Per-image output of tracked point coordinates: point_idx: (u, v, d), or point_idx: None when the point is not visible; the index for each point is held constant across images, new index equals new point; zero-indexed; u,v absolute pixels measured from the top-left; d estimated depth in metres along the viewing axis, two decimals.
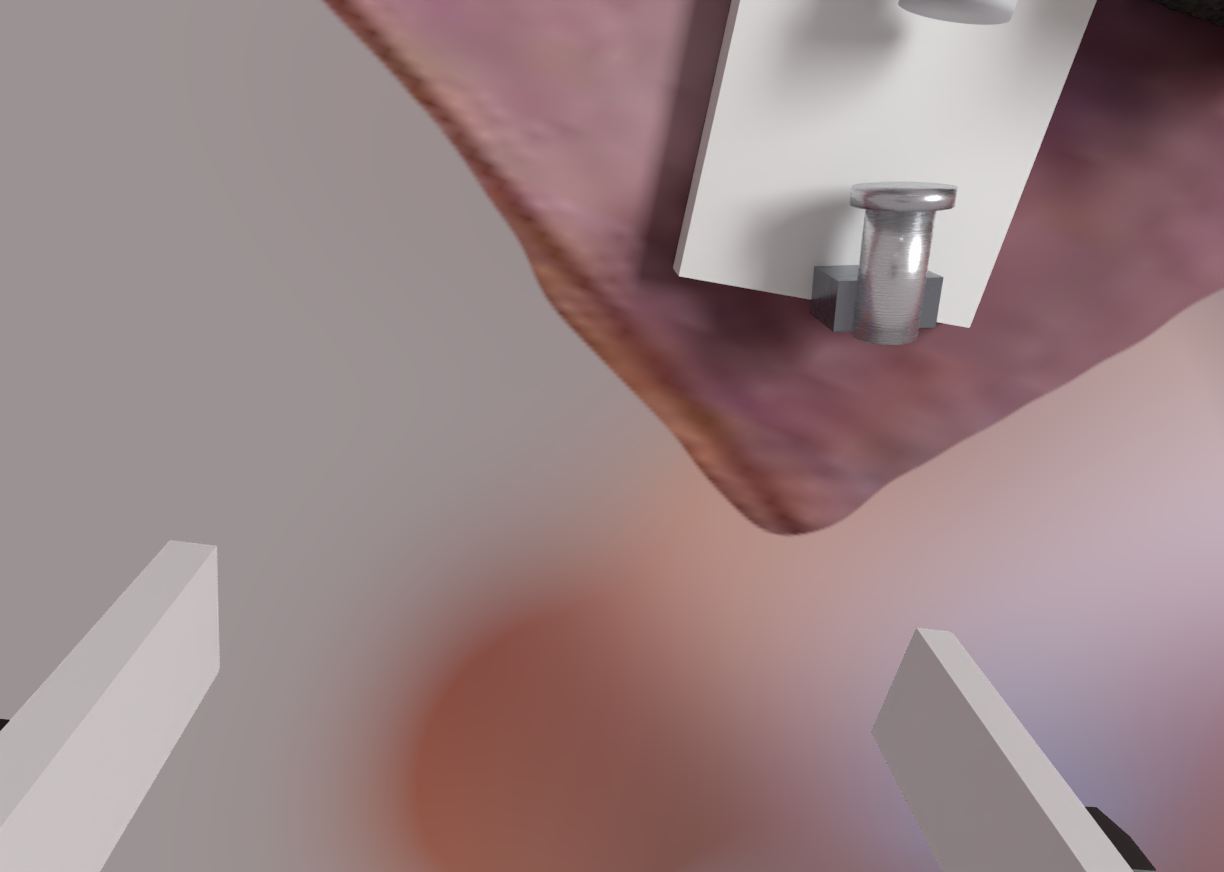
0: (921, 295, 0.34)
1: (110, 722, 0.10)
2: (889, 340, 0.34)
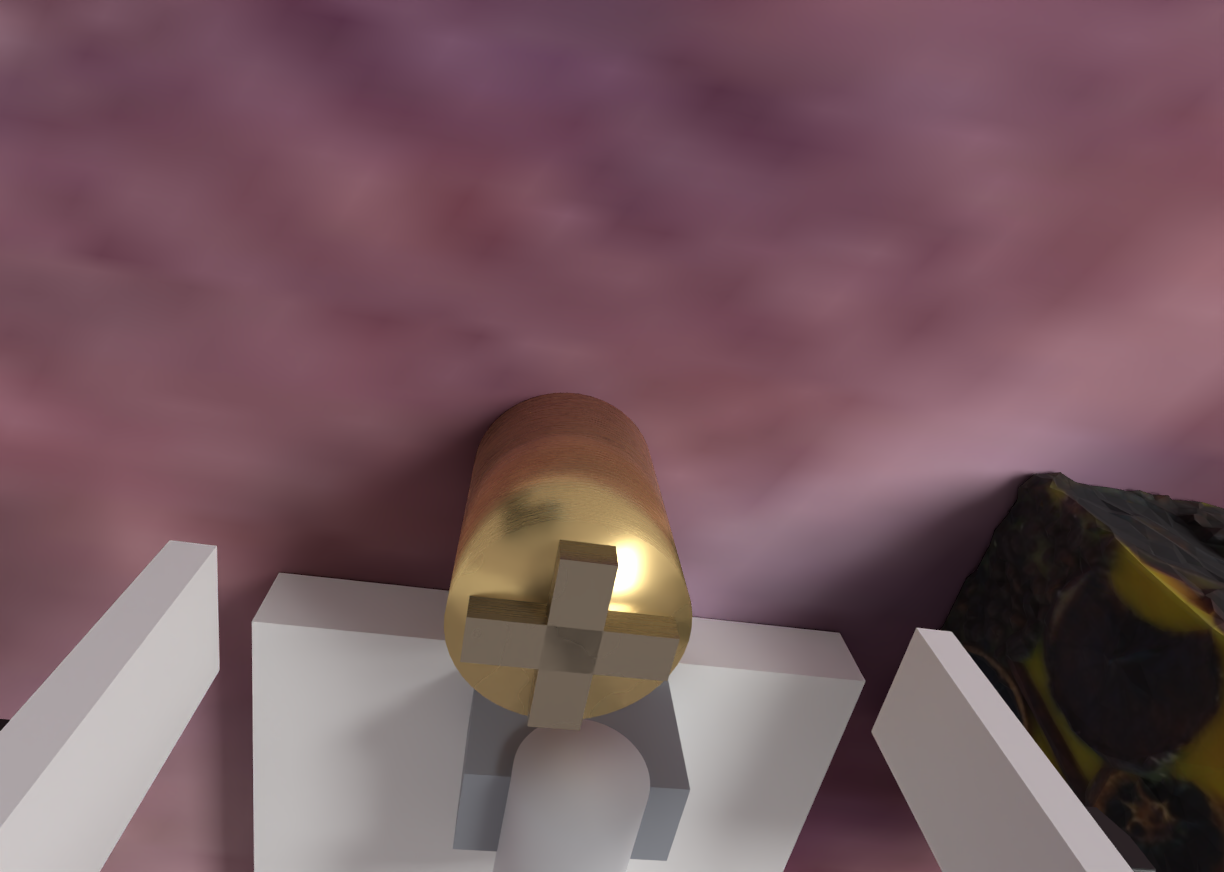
0: None
1: (110, 723, 0.10)
2: None
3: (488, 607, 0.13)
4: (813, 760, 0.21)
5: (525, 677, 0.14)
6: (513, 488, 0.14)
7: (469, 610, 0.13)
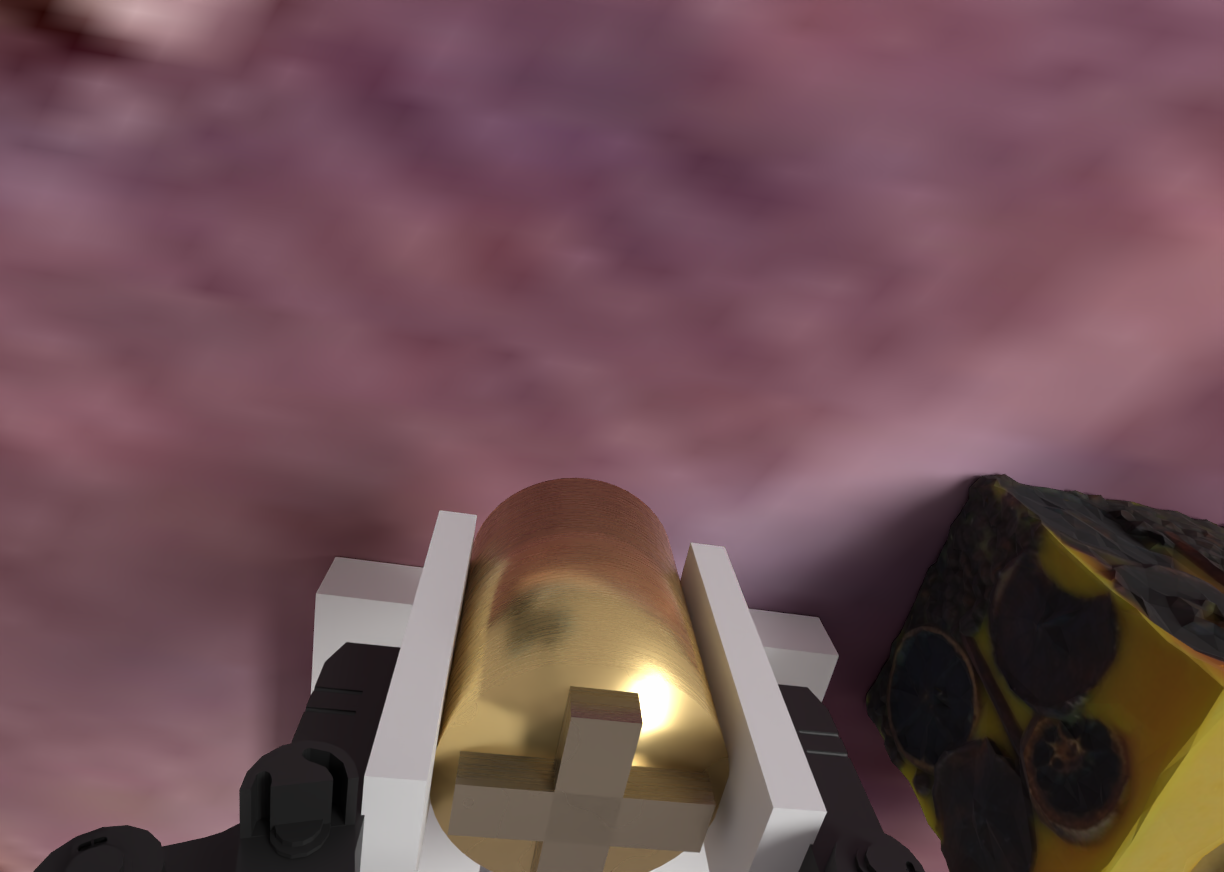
0: None
1: (453, 649, 0.12)
2: None
3: (482, 768, 0.11)
4: None
5: (528, 842, 0.12)
6: (514, 610, 0.12)
7: (459, 773, 0.11)
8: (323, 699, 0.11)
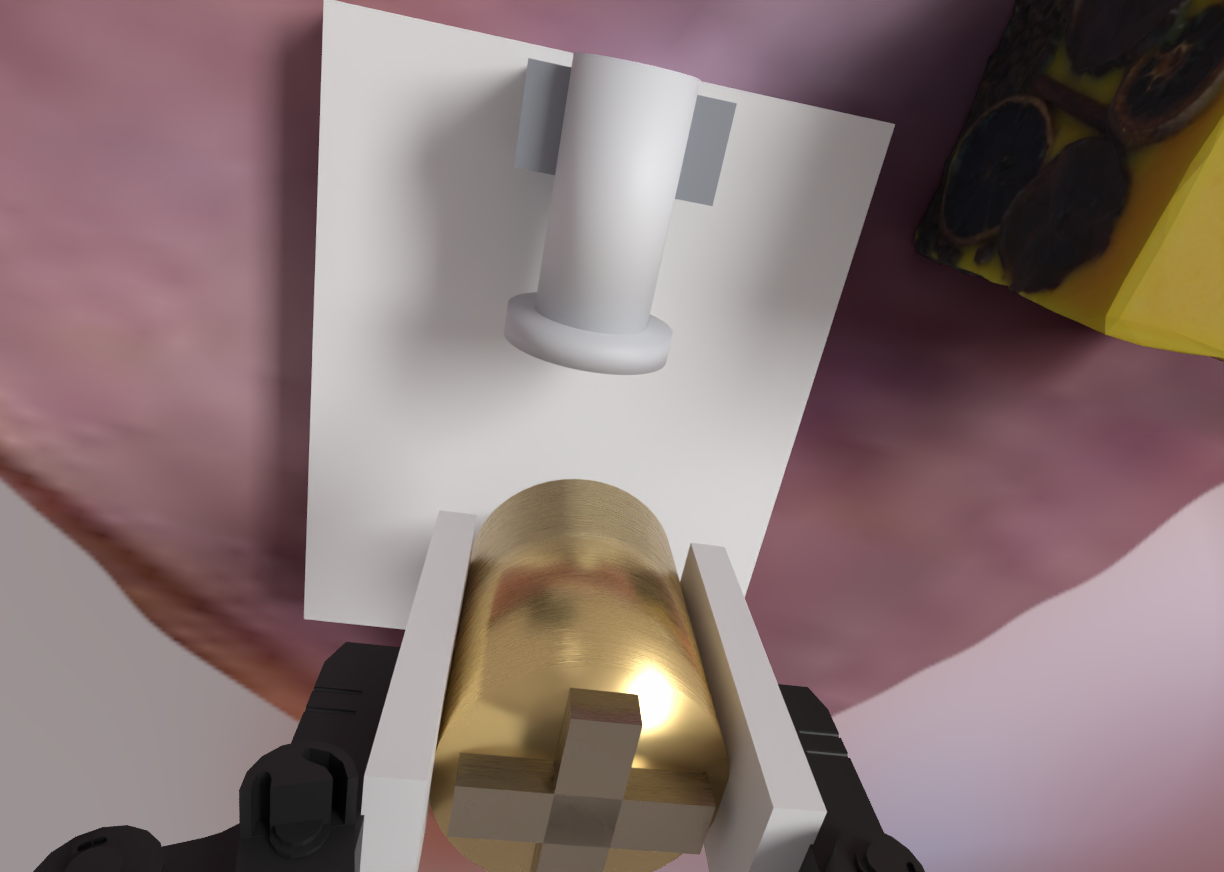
0: None
1: (452, 649, 0.12)
2: None
3: (482, 769, 0.11)
4: (844, 228, 0.23)
5: (527, 843, 0.12)
6: (514, 611, 0.12)
7: (459, 775, 0.10)
8: (323, 699, 0.11)
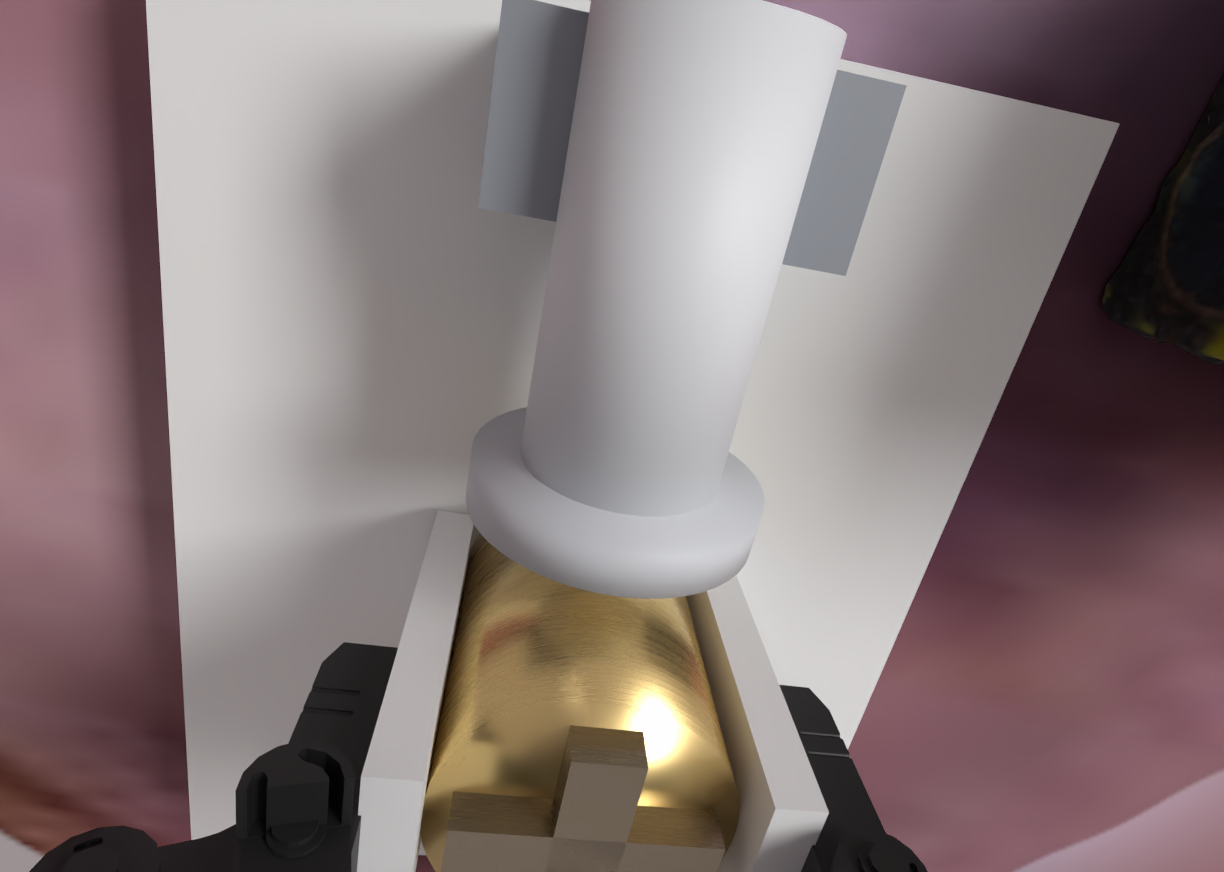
0: None
1: (450, 649, 0.12)
2: None
3: (477, 810, 0.10)
4: (1019, 289, 0.14)
5: None
6: (511, 637, 0.11)
7: (451, 817, 0.10)
8: (320, 699, 0.11)
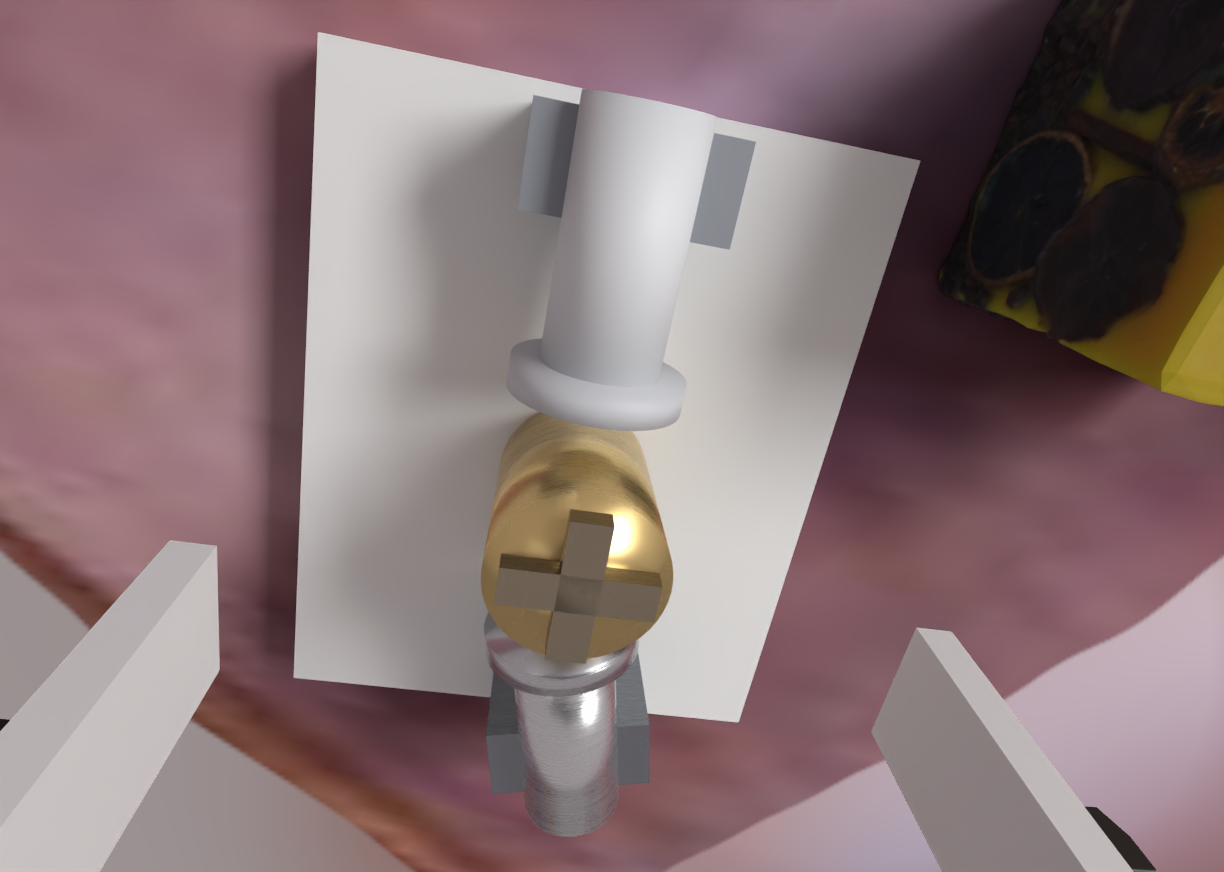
0: (603, 770, 0.22)
1: (110, 723, 0.10)
2: (560, 831, 0.22)
3: (515, 561, 0.17)
4: (866, 268, 0.21)
5: (544, 622, 0.18)
6: (534, 473, 0.18)
7: (501, 563, 0.17)
8: None
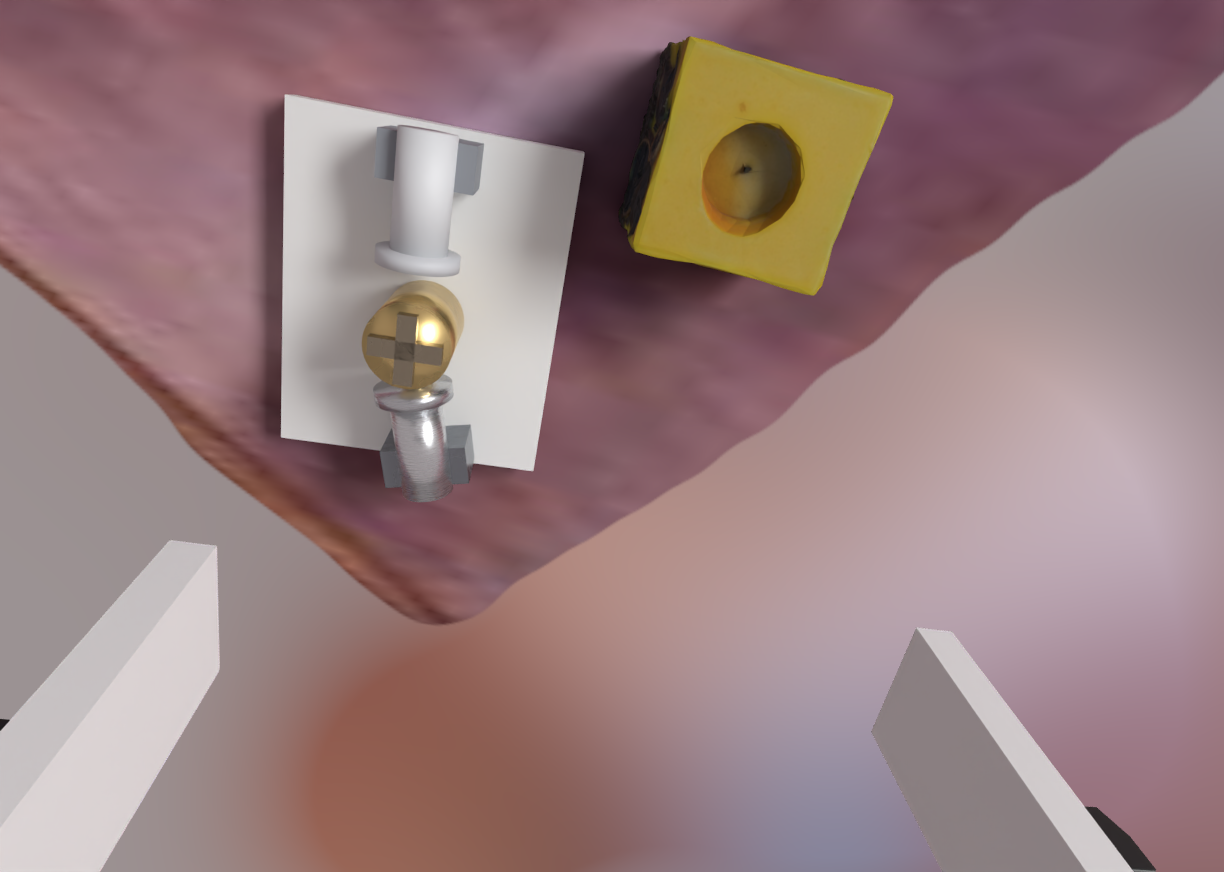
0: (438, 465, 0.43)
1: (109, 723, 0.10)
2: (417, 498, 0.44)
3: (375, 335, 0.38)
4: (566, 208, 0.42)
5: (392, 369, 0.39)
6: (389, 301, 0.39)
7: (368, 335, 0.38)
8: None
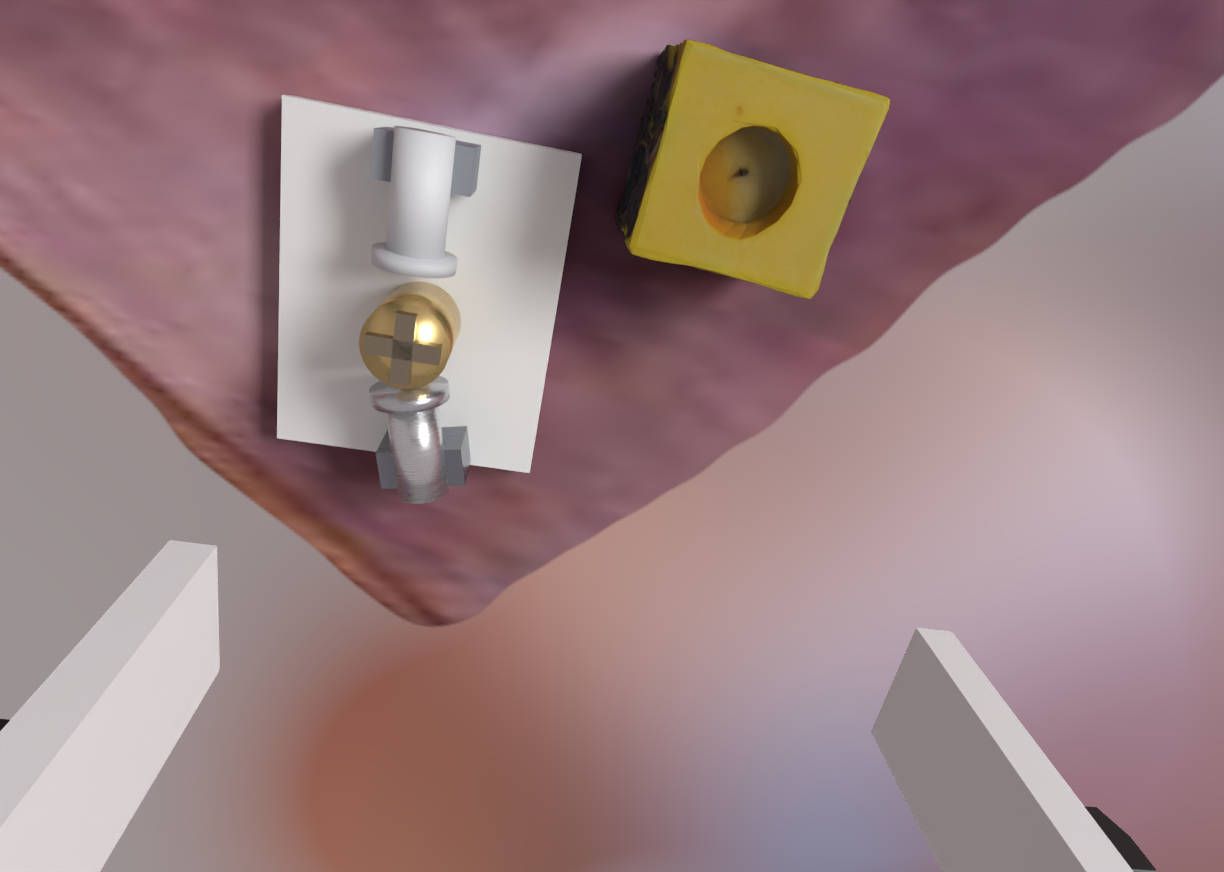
0: (433, 466, 0.43)
1: (111, 723, 0.10)
2: (413, 500, 0.43)
3: (373, 334, 0.38)
4: (563, 209, 0.42)
5: (389, 368, 0.39)
6: (387, 301, 0.39)
7: (366, 333, 0.38)
8: None
